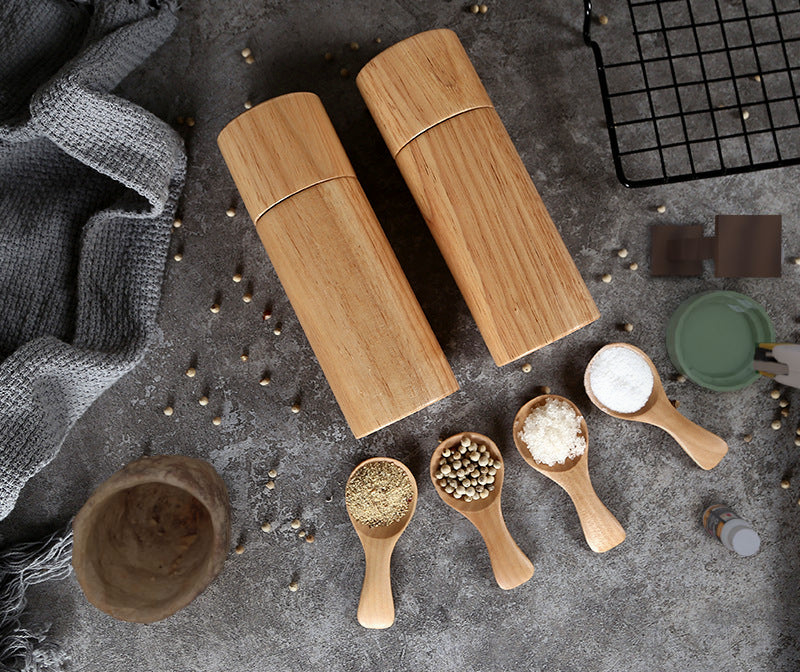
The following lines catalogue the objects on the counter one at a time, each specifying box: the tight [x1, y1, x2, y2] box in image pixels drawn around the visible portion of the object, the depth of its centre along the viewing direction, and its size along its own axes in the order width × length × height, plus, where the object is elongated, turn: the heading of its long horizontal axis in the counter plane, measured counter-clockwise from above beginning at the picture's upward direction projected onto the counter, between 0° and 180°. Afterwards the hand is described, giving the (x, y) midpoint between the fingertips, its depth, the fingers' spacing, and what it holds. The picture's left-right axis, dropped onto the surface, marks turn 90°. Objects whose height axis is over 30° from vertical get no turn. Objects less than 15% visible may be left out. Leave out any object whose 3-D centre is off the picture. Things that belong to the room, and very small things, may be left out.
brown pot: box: [71, 453, 232, 625], centre depth 104 cm, size 22×22×25 cm
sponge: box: [755, 342, 798, 379], centre depth 90 cm, size 4×4×7 cm
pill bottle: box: [702, 503, 761, 557], centre depth 112 cm, size 6×6×10 cm
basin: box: [665, 289, 776, 392], centre depth 114 cm, size 18×18×4 cm
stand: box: [649, 214, 783, 279], centre depth 104 cm, size 9×9×25 cm
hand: (776, 358), depth 92 cm, fingers closed on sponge, 4 cm apart
